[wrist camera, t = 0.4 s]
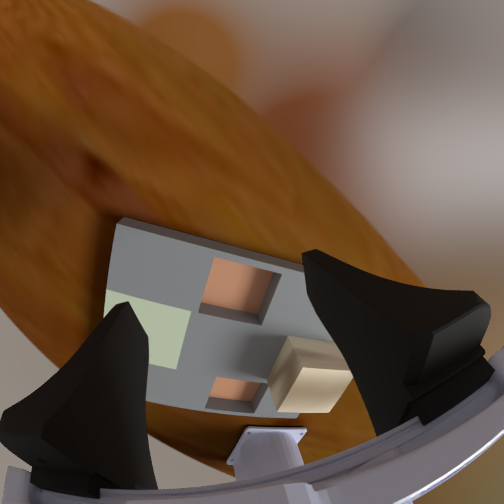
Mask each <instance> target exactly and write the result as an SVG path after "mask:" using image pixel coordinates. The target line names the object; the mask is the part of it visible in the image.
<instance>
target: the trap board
mask: <svg viewBox="0 0 504 504" xmlns="http://www.w3.org/2000/svg"><path fill="white" fill-rule="evenodd" d="M126 301H129V303H130V305H131V307H132V308H133V310H134V312H135V314H136V316H137V318H138V319H139V321H140V323H141V325H142V327H143V328H144V330H145V332H146V334H147V335H148V338H149V367H148V378H147V390H146V401H149V402H154V403H159V404H164V405H169V406H174V407H180V408H186V409H192V410H199V411H206V412H213V413H222V414H231V415H241V416H254V417H272V418H297V417H298V415H299V414H300V413H295V412H277V410H276V407H275V404H274V400H273V397H272V394H271V391H270V388H269V384H268V381H267V378H268V376H269V374H270V372H271V370H272V368H273V366H274V364H275V362H276V360H277V358H278V356H279V354H280V352H281V349H282V347H283V345H284V343H285V341H286V339H287V337H288V336H293V337H300V338H307V339H314V340H321V341H328V342H334V341H333V339H332V338H331V336H330V335H329V333H328V332H327V330H326V328H325V327H324V325H323V324H322V322H321V321H320V319H319V317H318V316H317V314H316V313H315V310H314V308H313V306H312V304H311V302H310V300H309V297H308V295H307V291H306V283H305V275H304V268H303V265H302V264H298V263H294V262H291V261H287V260H283V259H280V258H276V257H272V256H268V255H265V254H261V253H257V252H253V251H250V250H246V249H242V248H239V247H235V246H231V245H227V244H224V243H220V242H216V241H212V240H209V239H205V238H201V237H197V236H194V235H190V234H186V233H183V232H179V231H175V230H171V229H168V228H164V227H160V226H156V225H153V224H149V223H145V222H141V221H138V220H134V219H130V218H126V217H123V218H122V219H121V220H120V221H119V222H118V223H117V224H116V229H115V235H114V240H113V246H112V252H111V259H110V265H109V273H108V280H107V288H106V297H105V307H104V317H105V316H106V315H107V313H108V312H109V311H110V310H111V309H112V308H113V307H114V306H115V305H116V304H119V303H123V302H126Z"/></svg>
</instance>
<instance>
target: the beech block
mask: <svg viewBox="0 0 504 504" xmlns="http://www.w3.org/2000/svg"><path fill="white" fill-rule="evenodd" d="M352 378H353V376H352V374H351V371H350V369H349V367H348V365H347V363H346V361H345V359H344V357H343V355H342V354H341V352H340V350H339V349H338V347H337V346H336V344H335V342H328V341H321V340H314V339H307V338H300V337H293V336H288V337H287V339H286V341H285V343H284V345H283V347H282V349H281V352H280V354H279V356H278V358H277V360H276V362H275V364H274V366H273V368H272V370H271V372H270V374H269V376H268V378H267V381H268V384H269V388H270V391H271V394H272V397H273V400H274V404H275V407H276V410H277V412H295V413H329V412H330V410H331V409H332V408H333V406H334V405H335V403H336V402H337V401H338V399H339V398H340V396H341V395H342V393H343V392H344V390H345V389H346V387H347V386H348V384H349V383H350V381H351V380H352Z"/></svg>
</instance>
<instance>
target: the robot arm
mask: <svg viewBox="0 0 504 504" xmlns="http://www.w3.org/2000/svg"><path fill="white" fill-rule="evenodd" d="M302 260H303V268H304V275H305V283H306V291H307V295H308V297H309V300H310V302H311V304H312V306H313V308H314V310H315V313H316V314H317V316H318V317H319V319H320V321H321V322H322V324H323V325H324V327H325V328H326V330H327V332H328V333H329V335H330V336H331V338H332V339H333V341H334V342H335V344H336V346H337V347H338V349H339V350H340V352H341V354H342V355H343V357H344V359H345V361H346V363H347V365H348V367H349V369H350V371H351V374H352V376H353V378H354V380H355V382H356V385H357V387H358V389H359V391H360V394H361V396H362V398H363V401H364V403H365V406H366V408H367V411H368V413H369V416H370V419H371V421H372V424H373V427H374V430H375V433H376V435H377V437H375V438H373V439H371V440H369V441H366V442H364V443H362V444H360V445H357V446H355V447H352V448H350V449H347V450H345V451H342V452H340V453H337V454H334V455H332V456H329V457H326V458H323V459H320V460H318V461H315V462H311V463H308V464H305V465H304V463H303V460H302V457H301V454H300V451H299V449H298V446H297V443H298V442H299V441H300V439H301V438H302V437H303V436H304V434H305V433H306V432H307V429H306V428H304V427H299V428H288V427H256V426H249V427H247V428H246V429H245V430H244V432H243V434H242V436H241V437H240V439H239V441H238V443H237V444H236V446H235V448H234V449H233V451H232V453H231V455H230V456H229V458H228V459H227V461H226V463H227V464H228V465H234V470H235V476H236V481H235V482H230V483H223V484H217V485H209V486H201V487H192V488H181V489H166V490H165V489H163V490H158V487H157V483H156V479H155V475H154V471H153V466H152V461H151V456H150V451H149V444H148V436H147V426H146V412H145V408H146V390H147V378H148V367H149V338H148V335H147V334H146V332H145V330H144V328H143V327H142V325H141V323H140V321H139V319H138V318H137V316H136V314H135V312H134V310H133V308H132V307H131V305H130V303H129V301H126V302H123V303H119V304H116V305H115V306H114V307H113V308H112V309H111V310H110V311H109V312H108V313H107V315H106V316H105V317H104V318H103V320H102V321H101V322H100V323H99V325H98V326H97V327H96V328H95V330H94V331H93V332H92V333H91V335H90V336H89V337H88V338H87V340H86V341H85V342H84V343H83V344H82V346H81V347H80V348H79V349H78V350H77V352H76V353H75V354H74V355H73V356H72V357H71V358H70V360H69V361H68V362H67V363H66V364H65V365H64V366H63V367H62V368H61V369H60V370H59V371H58V372H57V373H56V374H54V375H53V376H52V377H51V378H50V379H49V380H48V381H47V382H45V383H44V384H43V385H42V386H41V387H39V388H38V389H37V390H35V391H34V392H33V393H31V394H30V395H29V396H27V397H26V398H24V399H23V400H21V401H19V402H18V403H16V404H14V405H13V406H11V407H9V408H8V409H6V410H5V411H4V412H3V414H2V417H1V420H0V442H1V443H2V444H3V445H4V446H5V447H6V448H7V449H8V450H10V451H11V452H12V453H13V454H15V455H16V456H17V457H19V458H20V459H22V460H23V461H25V462H26V463H27V464H29V465H30V466H32V471H31V472H29V471H26V470H24V469H20V468H15V467H12V466H8V468H7V473H6V479H5V485H4V491H3V498H2V504H413V502H412V501H413V500H415V499H417V498H419V497H420V496H422V495H424V494H426V493H427V492H429V491H430V490H432V489H434V488H435V487H437V486H438V485H440V484H441V483H443V482H444V481H446V480H447V479H449V478H450V477H452V476H453V475H454V474H456V473H457V472H459V471H460V470H461V469H463V468H464V467H465V466H467V465H468V464H469V463H471V462H472V461H473V460H474V459H476V458H477V457H478V456H479V455H481V454H482V453H483V452H484V451H485V450H487V449H488V448H489V447H490V446H491V445H492V444H494V443H495V442H496V441H497V440H498V439H499V438H500V437H501V436H502V435H503V434H504V346H503V347H502V348H501V349H500V350H499V351H497V352H496V353H495V354H494V355H493V356H492V357H491V358H490V359H489V361H488V362H487V361H486V359H485V358H484V357H483V356H484V354H485V350H484V349H483V347H482V346H481V345H480V344H481V341H482V339H483V336H484V334H485V332H486V330H487V327H488V325H489V321H490V318H491V308H490V305H489V304H488V303H486V302H485V301H484V300H483V299H482V298H481V297H480V296H479V295H477V294H476V293H475V292H474V291H460V290H458V291H457V290H440V289H430V288H424V287H418V286H413V285H408V284H403V283H399V282H395V281H392V280H389V279H385V278H382V277H379V276H376V275H373V274H371V273H368V272H365V271H363V270H360V269H358V268H356V267H353V266H351V265H349V264H347V263H345V262H342V261H340V260H338V259H336V258H334V257H332V256H330V255H328V254H326V253H324V252H322V251H319V250H317V249H314V250H311V251H307V252H304V253H302Z"/></svg>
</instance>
